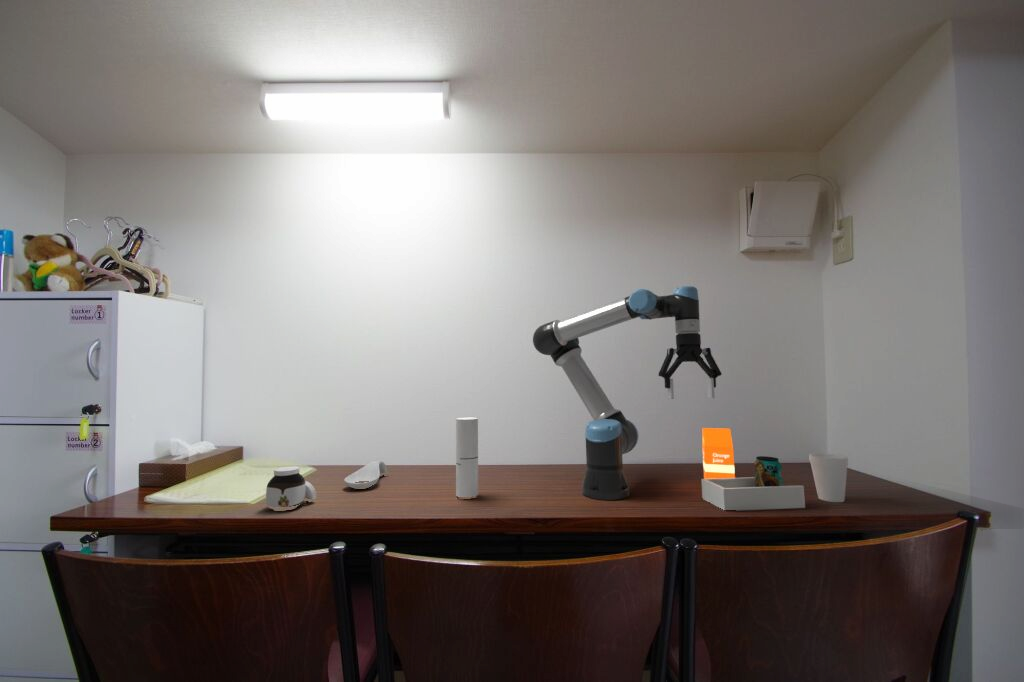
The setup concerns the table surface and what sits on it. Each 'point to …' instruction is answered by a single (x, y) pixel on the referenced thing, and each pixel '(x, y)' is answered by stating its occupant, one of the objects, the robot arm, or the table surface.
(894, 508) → the table surface
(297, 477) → the spread jar
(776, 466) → the beverage can
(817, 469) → the foam cup
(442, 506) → the table surface
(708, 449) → the orange juice
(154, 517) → the table surface
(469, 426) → the cylindrical container
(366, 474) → the spoon rest
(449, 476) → the table surface
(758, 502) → the grey shallow open box
